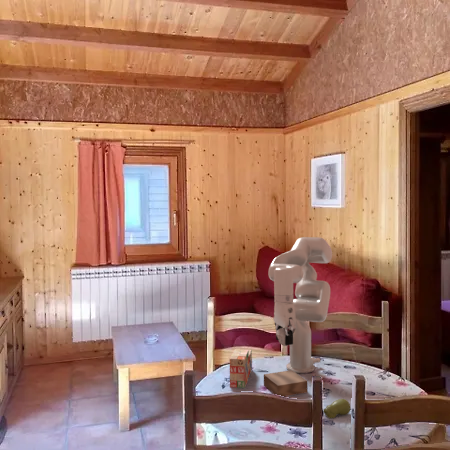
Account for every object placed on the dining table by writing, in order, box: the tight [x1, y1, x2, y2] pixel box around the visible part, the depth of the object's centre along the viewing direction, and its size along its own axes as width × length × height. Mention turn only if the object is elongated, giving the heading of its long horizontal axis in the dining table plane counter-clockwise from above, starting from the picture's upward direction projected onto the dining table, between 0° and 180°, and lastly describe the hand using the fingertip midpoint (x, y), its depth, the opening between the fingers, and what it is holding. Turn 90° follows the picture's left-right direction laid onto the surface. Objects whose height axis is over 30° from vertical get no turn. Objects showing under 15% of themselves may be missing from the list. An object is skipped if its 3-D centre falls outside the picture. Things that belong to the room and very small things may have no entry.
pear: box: [323, 398, 351, 420], centre depth 170 cm, size 6×5×10 cm
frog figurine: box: [275, 328, 289, 347], centre depth 193 cm, size 6×7×7 cm
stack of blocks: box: [229, 348, 253, 389], centre depth 206 cm, size 21×6×12 cm, turn 169°
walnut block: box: [263, 370, 309, 397], centre depth 194 cm, size 13×13×5 cm
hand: (284, 341), depth 193 cm, fingers closed on frog figurine, 6 cm apart
